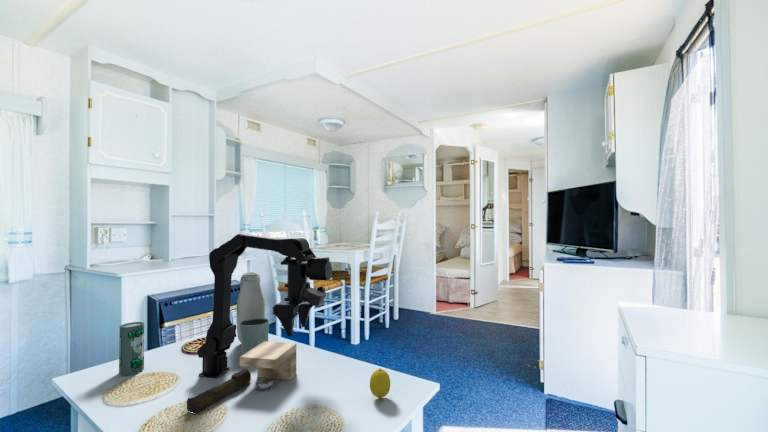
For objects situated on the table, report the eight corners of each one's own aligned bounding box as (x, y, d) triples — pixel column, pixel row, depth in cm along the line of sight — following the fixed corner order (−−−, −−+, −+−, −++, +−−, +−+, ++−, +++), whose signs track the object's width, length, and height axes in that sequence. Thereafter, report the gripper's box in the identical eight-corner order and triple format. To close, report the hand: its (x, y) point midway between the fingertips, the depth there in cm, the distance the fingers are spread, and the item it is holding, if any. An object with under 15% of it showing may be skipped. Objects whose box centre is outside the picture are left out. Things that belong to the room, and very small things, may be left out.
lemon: (383, 406, 87) (383, 374, 87) (365, 400, 90) (365, 370, 90) (394, 396, 92) (394, 367, 92) (377, 391, 95) (377, 362, 95)
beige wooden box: (239, 390, 96) (239, 356, 96) (264, 371, 108) (264, 341, 109) (275, 394, 94) (275, 359, 94) (296, 373, 106) (296, 343, 106)
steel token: (253, 391, 96) (253, 384, 96) (261, 384, 100) (261, 377, 100) (267, 392, 95) (267, 385, 95) (275, 385, 99) (275, 378, 99)
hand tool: (195, 417, 83) (195, 397, 83) (185, 412, 85) (185, 394, 85) (256, 384, 100) (257, 368, 100) (247, 381, 102) (247, 366, 102)
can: (139, 374, 107) (140, 326, 107) (116, 377, 105) (117, 328, 105) (145, 366, 113) (146, 321, 113) (123, 369, 110) (124, 323, 111)
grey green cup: (263, 360, 117) (263, 325, 117) (234, 360, 117) (234, 325, 118) (273, 349, 127) (273, 317, 128) (246, 349, 127) (246, 317, 128)
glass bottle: (254, 337, 141) (254, 270, 141) (269, 342, 135) (269, 272, 135) (231, 344, 133) (231, 273, 133) (246, 350, 127) (246, 275, 127)
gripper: (309, 285, 92) (309, 343, 91) (333, 275, 110) (333, 323, 110) (271, 284, 94) (271, 341, 94) (301, 274, 112) (301, 322, 112)
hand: (297, 331), depth 102 cm, fingers open, 9 cm apart
